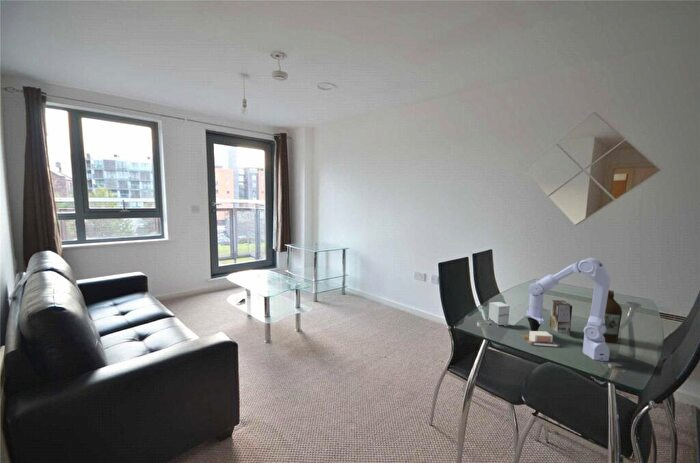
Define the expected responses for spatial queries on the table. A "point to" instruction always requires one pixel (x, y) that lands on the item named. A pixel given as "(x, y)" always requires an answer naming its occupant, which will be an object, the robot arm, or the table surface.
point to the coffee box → (561, 316)
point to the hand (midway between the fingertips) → (533, 332)
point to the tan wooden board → (529, 340)
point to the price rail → (545, 344)
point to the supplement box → (499, 313)
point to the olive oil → (612, 318)
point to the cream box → (540, 336)
